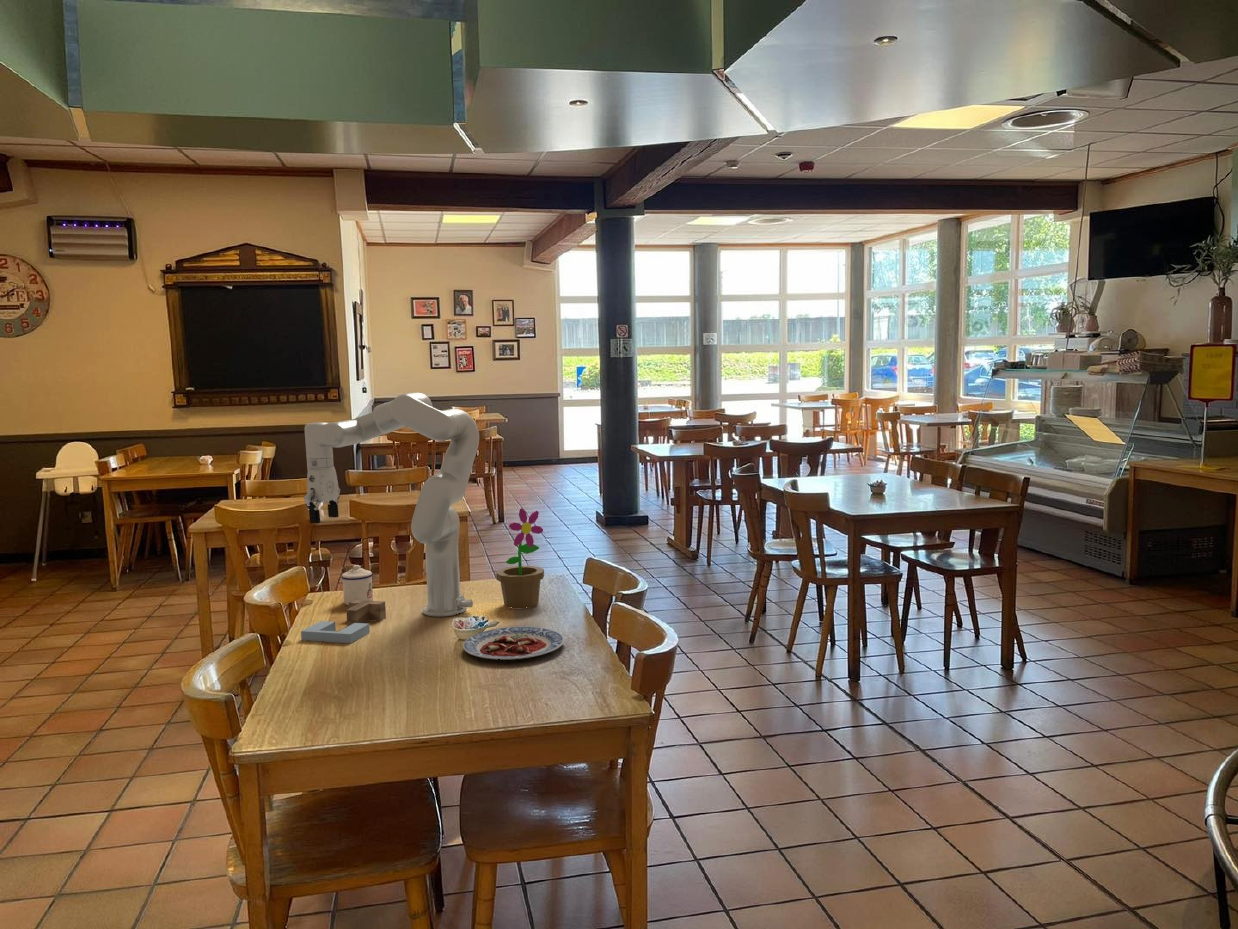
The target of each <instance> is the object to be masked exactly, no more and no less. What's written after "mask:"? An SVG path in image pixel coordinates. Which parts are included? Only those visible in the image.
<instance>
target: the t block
mask: <svg viewBox="0 0 1238 929" xmlns="http://www.w3.org/2000/svg"><path fill="white" fill-rule="evenodd" d="M386 608H387V607H386V601H385V600H384V601H383V600H381V601H380V600H373V601H366V600H353V601H351V602H349V605H348V609H346V610H345V611H346V627H348V626H350V625H352V624H353V623H366V622H367V623H368V622H370V621H369V620H376V621H375V622H382V621H384V620H385V619H387V612H386V611H387V610H386ZM383 619H384V620H383ZM381 620H382V621H381ZM367 623H366V624H367Z"/></svg>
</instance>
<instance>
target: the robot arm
mask: <svg viewBox="0 0 1238 929" xmlns="http://www.w3.org/2000/svg"><path fill="white" fill-rule="evenodd" d="M403 428H408V429H410V430H411V431H414V432H416V433H418V434H420V435H422V436H424V437H426V438H427V439H430V440H433V441H437V442H445V441H449V440H450V442H449V445H448V448H447V449H446V451H445V454H444V457H443V461H442V464H441V466H440V470H439V471H438V473H437V474H434V475H432V476H430V477H428V478H427V479H426V480H425V481H424V483H423V484H422V486H421V489H420V492H419V494H418V498H417V502H416V504H415V508H414V511H413V514H412V518H411V524H410V530H411V534H412V536H413V537H414V539H415V540H416V541H417V542H419V543H420V544H425V571H426V572H425V573H426V574H425V575H426V589H427V590H426V592H427V605H425V606H424V607H423V608H422V612H423V614H424V615H426V616H429V617H439V618H442V617H450V616H451V617H452V616H455V615H456V614H457V615H459V613H460V614H463V613H464V612H466V610H467V608H473V606H474V601H473V599H469V598H467V599H465V598H464V597H465V596H464V594H462V593H461V580H460V561H459V560H460V559H459V558H460V556H459V554H460V553H459V540H460V539H459V538H460V537H459V536H460V528H461V527H460V524H461V522H460V516H459V514H458V512H457V511H456V509H455V508H453V507H452V506H451V505H454V504H456V503H458V502H460V501H461V500H462V499H463V498H464V496H465V493H466V490H467V486H468V483H469V480H470V476H471V473H472V470H473V465H474V463H475V458H476V456H477V452H478V449H479V446H480V445H479V443H480V431H479V427H478V425H477V423H476V421H475V420H474V418H473V417H472V416H471V414H469V413H468V412H466V411H464V410H462V409H459V408H458V409H457V408H448V409H442V410H439V409H437V408H435V407H433V403H432V401H431V398H429V396H428V395H426V394H424V393H423V392H422V393H421V392H409V393H401V394H399V395H397V396H396V397H395V398H394V399H393V400H390V401H386V402H384V403H381V404H378V405H376V406H374V408H373V411H371V412H369V413H366V414H363V415H360V416H358V417H355V418H353V419H352V418H351V419H348V420H342V421H341V420H340V421H334V422H330V423H329V422H325V421H317V422H308V423H306V424H305V425H304V438H305V441H304V442H305V452H306V454H305V455H306V467H307V468H306V469H307V474H306V476H307V477H306V492H307V493H306V494H305V495H304V496H303V501H304V503H305V506H306V508H307V510H308V515H309V516H308V518H309V524H320V523H321V514H320V511H321V510H320V509H319V506H320V504H321V503H328V504H327V515H328V517H329V518H339V499H340V493H341V488H340V487H339V482H338V475H337V471H336V468H335V466H334V465H335V464H334V451H333V448H338V449H339V448H344V447H347V446H353V445H357V444H361V443H363V442H366V441H369V440H372V439H375V438H378V437H380V436H382V435H387V434H389V433H392V432H395V431H397V430H400V429H403Z"/></svg>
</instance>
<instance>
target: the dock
mask: <svg viewBox="0 0 1238 929" xmlns="http://www.w3.org/2000/svg"><path fill="white" fill-rule="evenodd" d="M370 628H371V627H370V623H353V624H352V625H350V626H348V627H347V626H346V627H345V628H343V629H341V630H338V631H337V630H336V629H337V628H336V621H331V620H330V621H325V620H324V621H323V620H321V621H318V622H317V623H314V624H312V625H311V626H307V628H305V629H301V631H300V637H301V638H300V639H301V641H306V640H310V641H311V642H322V641H324V642H325V643H326V642H327V643H339V644H341V643H343V644H353V643H354V642H356V641H358V640H360V639H361V638H363V637H365V636H367V635H368V634H370V633H371V629H370ZM369 632H370V633H369ZM359 638H360V639H359Z"/></svg>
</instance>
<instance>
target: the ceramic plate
mask: <svg viewBox="0 0 1238 929" xmlns="http://www.w3.org/2000/svg"><path fill="white" fill-rule="evenodd" d="M477 634H478V633H477ZM474 635H475V636H473V635H471V636H469V637H468V638H467V639H465V640H464V642H463V643H462V647H463V648H462V649H463V651H465V653H467V654H469V655H471V656H473V657H474V656H475V657H477V658H478V657H479V658H482V659H488V660H489V659H490V660H498V659H500V661H514V660H515V661H517V660H516V659H518V660H525V659H529V658H530V659H531V658H534V657H539V656H542V655H547V654H548V653H552V652H554V651H556V650H558V649H559V648H561V647H562V646H563V645H564V643H565V637H564V635H562V634H561V633H560V632H558V631H556V630H553V629H549V628H545V627H538V626H537V627H536V626H509V627H499V628H495V629H489V630H485V631H482V632H479V634H478V635H476V634H474ZM524 658H525V659H524Z"/></svg>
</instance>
